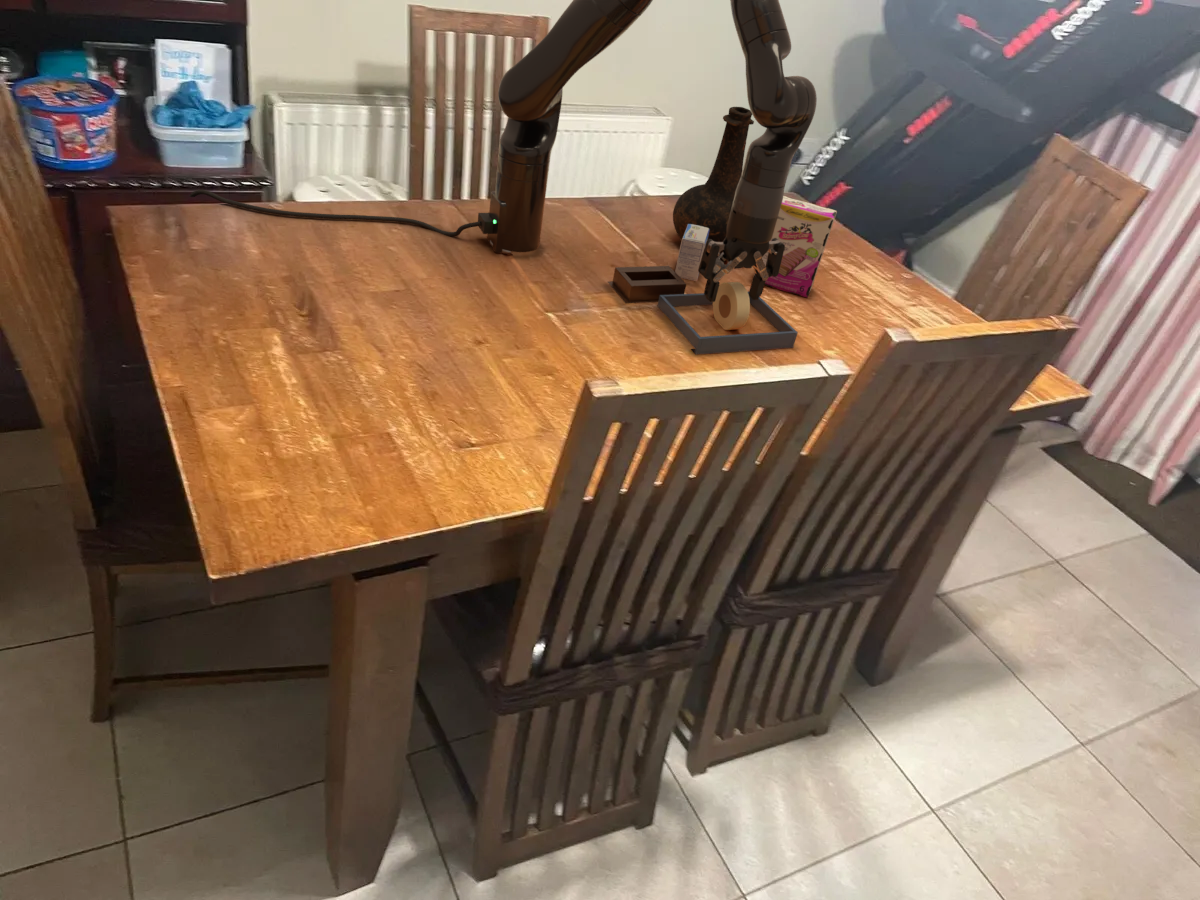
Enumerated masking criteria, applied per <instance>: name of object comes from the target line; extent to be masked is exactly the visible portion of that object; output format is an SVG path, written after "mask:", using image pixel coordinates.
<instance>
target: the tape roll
mask: <svg viewBox="0 0 1200 900" xmlns="http://www.w3.org/2000/svg"><path fill="white" fill-rule="evenodd" d="M747 291H748V290H747V288H746V286H745V285H744V284H743V283H742V282H740V281H727V282H722V283H720V284H719V288H718V292H717V296H716V300H715V302H713V305H712V313H713V317H714V318H713V319H714V320H715V321H716V322H717V324H718V325H720V326H721V328H722V329H723V330H724V331H731V330H732V331H733V330H735V331H736V330H740V329H742V328H744V327H745V325H746V324H747V323H748V321H749V317H750V312H751V304H750V299H749V295H748V292H747Z"/></svg>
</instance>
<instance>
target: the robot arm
mask: <svg viewBox="0 0 1200 900" xmlns="http://www.w3.org/2000/svg"><path fill="white" fill-rule="evenodd" d="M653 1H654V0H572V1H571V2H570V4H569V5H567V7H566V9H565V10H564V11H563V12H562V13H561V15H560V16H559V18H558V19H557V21H556V22H555V23H554V24H553V26H552V27H551V29H550V30H549V31H548V33H547V34H546V35H545V36H544V37H543V38H542V39H541V40H540V41H539V42H538V43H537V44H536V45H535V46H534V47H533V48H532V49H531V50H530V51H529V52H528V53H527V54H526V55H524V56H523V57H522V58H521V59H520V60H518V61H517V62H516V64H514V65H513V66H512V67H511V68H509V69H508V70H507V71H506V72H505V73H504V75H502V77H501V80H500V82H499V86H498V90H497V97H498V98H497V99H498V103H499V106H500V108H501V111H502V113H503V114H504V115H505V116H506V117H507V121H506V125H505V127H504V129H503V132H502V134H501V135H500V138H499V143H498V155H497V165H496V175H495V185H494V187H495V188H494V190H492V191H491V192H490V201H489V212H477V213H478V215H477V221H475V222H474V221H473V222H469V223H465V224H462V225H460V226H459V227H458V228H457V229H456V231H446V230H442V229H440V228H438V227H435V226H434V225H431V224H429V223H427V222H424V221H420V220H417V219H414V218H413V219H412V218H407V217H406V218H405V217H397V216H385V215H384V216H382V215H380V216H379V215H366V214H365V215H364V214H362V215H361V214H337V213H336V214H335V213H316V212H315V213H314V212H301V211H291V210H283V209H275V208H268V207H262V206H257V205H253V204H249V203H244V202H241V201H235V200H232V199H228V198H225V197H223V196H220V195H218V194H216V193H214V192H213V191H210V190H206V189H196V190H194V191H192V192H191V193H190V194H189V195H188V196H189V197H190V198H195V197H196V196H199V195H205V196H208V197H210V198H212V199H214V200H216V201H219V202H220V203H223V204H226V205H229V206H235V207H238V208H243V209H247V210H251V211H256V212H260V213H266V214H272V215H277V216H286V217H296V218H297V217H298V218H310V219H325V220H326V219H327V220H353V221H354V220H356V221H374V222H375V221H376V222H392V223H393V222H394V223H403V224H404V223H405V224H410V225H416V226H420V227H422V228H425V229H428V230H429V231H433V232H434V233H435V232H436V233H438V234H440V235H444V236H446V237H453V238H454V237H458V236H459V235H461V233H462V232H463V231H465V230H466V229H470V228H476V227H478V228H479V229H480V231H481V232H482V234H483V235H486V240H487V242H488V244H489V245H490V247H491V248H492V250H493V251H494V252H495V253H496V254H505V255H509V256H513V253H530V252H533V251H536V250H537V249H538V248H539V247H540V244H541V236H542V227H543V219H544V212H545V203H546V197H547V196H546V194H547V187H548V180H549V179H548V178H549V171H550V164H551V163H550V162H551V156H552V151H553V147H554V145H555V142H556V139H557V134H558V130H559V129H558V128H559V122H560V116H561V110H562V102H563V92H564V91H563V88H564V87H565V86H566V84H567V83H568V82H569V81H570V80H571V79H572V78H573V76H574V75H575V74H576V73H577V72H578V71H579V70H581V69H582V68H583V67H584V66H585V65H587V64H588V63H589V62H590V61H592V60H593V59H595V58H596V57H597V56H599V55H600V54H601V53H603V51H605V50H606V49H607V48H609V47H610V46H611V45H612V44H613V43H615V42H616V41H617V40H618V39H619V38H620V37H622V36H623V34H625V32H626V31H627V30H629V28H630V27H631V26H632V25H633V24H634V23H636V21H637V20H638V19H639V18H640V17H641V16H642V15H644V13H645V12H646V10H647V9H648V8H649V7H650V5H651V4H652V3H653ZM729 1H730V9H731V11H730V12H731V16H732V20H733V25H734V28H735V31H736V34H737V37H738V41H739V45H740V48H741V50H742V53H743V57H744V60H745V61H744V62H745V80H746V81H745V82H746V96H747V97H746V98H747V103H748V107H749V110H750V111H751V113H752V117H753V118H754V120H755V121H756V123H758V124H759V125H760V126H761V127H763V128H765V131H764V132H763V133H762V135H760V136H759V137H757V138H756V139H754V140H753V141H751V143H750V145H749V146H748V149H747V151H746V155H745V159H744V162H743V169H742V175H741V178H740V181H739V183H738V186H737V188H736V192H735V196H734V200H733V204H732V208H731V212H730V216H729V220H728V224H727V234H726V238H725V239H724V241H723V242H714V241H713V240H712V239H709V240H707V242H706V245H705V248H704V252H703V255H702V258H701V262H700V265H699V269H698V272H699V275H701V276H702V277H703V278H704V279H705V280H706V282H705V287H704V290H703V293H704V295H705V296H706V298H707V299H708V300H709V301H710V302H715V300H716V296H717V292H718V288H719V285H720V284H721V283H720V280H721V279H722V278H723V277H725V275H727V274H730V273H731V272H732V271H733V270H734V269H735V270H736V269H737V270H738V269H739V270H740V269H744V268H745V269H753V271H754V274H753V277H752V279H751V284H750V288H749V296H750V297H751V298H752V299H753V300H758V299H759V297H761V296H762V295H763V291H764V288H765V286H766V285H765V281H766V280H767V279H768V278H769V277H771V276H773V277H776V276H777V275H778V273H779V269H780V265H781V261H782V257H783V253H784V248H785V245H784V244H783V243H782V242H780V241H779V240H778V239H777V238H773V239H772V236H773V232H774V229H775V225H776V222H777V218H778V215H779V211H780V208H781V204H782V200H783V196H784V194H785V188H786V183H787V179H788V176H789V172H790V169H791V166H792V162H793V159H794V156H795V154H796V153H797V152H798V150H799V148H800V146H801V145H802V142H803V140H804V138H805V136H806V134H807V133H808V131H809V128H810V126H811V124H812V122H813V119H814V116H815V114H816V110H817V98H818V97H817V91H816V88H815V85H814V83H813V82H812V81H811V80H809V78H807V77H805V76H801V75H790V76H785V74H784V68H783V67H784V66H783V61H784V60H785V59H786V58H788V56H789V55H790V53H791V52H792V41H791V37H790V33H789V29H788V26H787V23H786V20H785V16H784V14H783V10H782V7H781V3H780V1H779V0H729ZM771 239H772V241H770V240H771ZM722 250H723V252H722V254H721V255H720V252H721V251H722ZM767 251H768V252H769V253H768V258H767V262H766V266H765V264H764V262H763V259H762V257H763V256H764V255H765V254H766V253H767ZM719 255H720V256H719ZM717 256H719V257H718V258H717ZM725 261H726V263H727V264H725ZM755 273H756V275H755Z"/></svg>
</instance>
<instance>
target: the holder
mask: <svg viewBox="0 0 1200 900" xmlns="http://www.w3.org/2000/svg"><path fill="white" fill-rule="evenodd" d="M613 271H614V272H613V277H612V280H611V281H610V280H609V281H607V283H608V285H609V286H610V287H611V288H612V289H613V291H614V292H615V293H616V294H617V295H618V296H619V298H620V299H621V300H622V301H623V303H624V304H642V303H643V304H645V303H647V304H649V303H658V300H659V296H660V295H674V294H686V287H687V283H686V282H685V281H684V279H683V278H680V277H679V276H678V275H677V274H676V273H675V270H674V269H673V268H672V267H671V266H670V265H649V266H647V265H646V266H616V267H614V270H613Z"/></svg>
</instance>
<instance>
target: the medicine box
mask: <svg viewBox="0 0 1200 900" xmlns="http://www.w3.org/2000/svg"><path fill="white" fill-rule="evenodd" d="M709 230H710V229H709V228H706V227H703V226H698V225H693V224H688V225H687V228H686V231H685V233H684V236H683V238H682V241H681V240H680V241H681V242H680V246H679V251H678V255H677V259H676V266H675V270H674V272H675V273H676V274H677V275H678V276H679V277H680V278H681V279H683V280H688V281H693V282H698V279H699V276H700V273H699V272H698V269H699V265H700V262H701V258H702V255H703V252H704V248H705V245H706V242H707V239H708V235H709Z"/></svg>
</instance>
